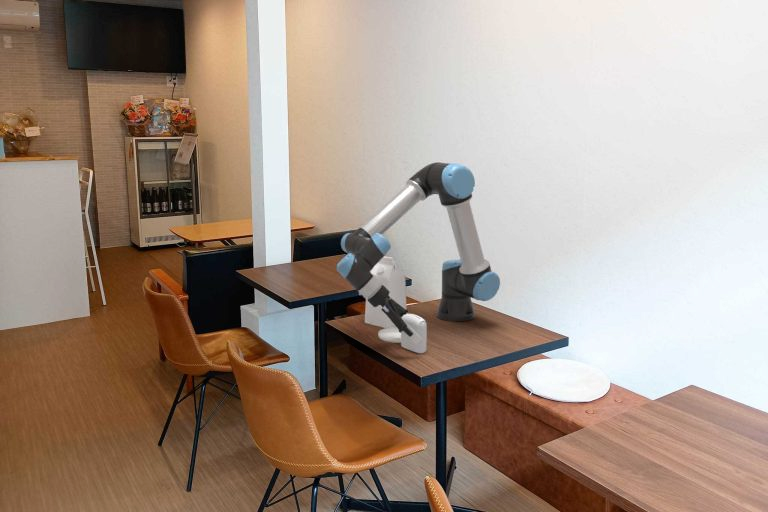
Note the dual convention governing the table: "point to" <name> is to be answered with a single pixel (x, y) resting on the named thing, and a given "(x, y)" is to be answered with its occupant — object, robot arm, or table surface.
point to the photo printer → (420, 328)
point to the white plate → (390, 335)
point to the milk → (395, 285)
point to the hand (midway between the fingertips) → (418, 334)
